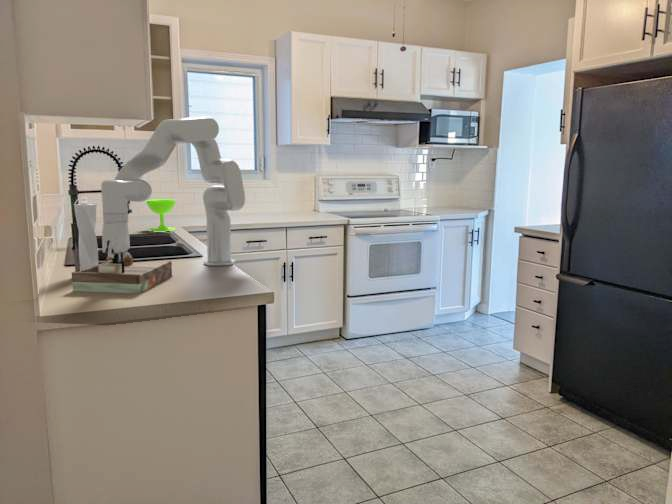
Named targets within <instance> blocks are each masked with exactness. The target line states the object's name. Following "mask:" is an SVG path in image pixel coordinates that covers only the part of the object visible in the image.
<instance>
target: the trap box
mask: <svg viewBox="0 0 672 504" xmlns="http://www.w3.org/2000/svg"><path fill="white" fill-rule="evenodd" d="M106 263H111V264H112V261H111V260H110V261H107V262H106V261H104V262H102V263H98V265H96V266H93V267H90V268H88V269H85V270H82V271H81V270H80V271H79V272H75V271H73V272H71V284H72V292H87V293H88V292H89V293H90V292H91V293H118V294H119V293H120V294H141V293H144V292H145V291H147V290H149V289H151V288H153V287H154V286H157V285H158V284H160V283H162V282H163V281H166V280H167V279H169V278H171V277H173V270H172V268H173V267H172V265H173V264H172V260H171V261H170V260H168V261H167V262H163V263H162V264H160V265H158V266H155V267H154V266H153V267H152V266H151V267H150V266H149V267H148V266H124V271H125V272H124V273H122V274H119V273H99V267H98V266H101V265H104V264H106Z"/></svg>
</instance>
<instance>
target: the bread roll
mask: <svg viewBox="0 0 672 504" xmlns="http://www.w3.org/2000/svg"><path fill="white" fill-rule="evenodd" d="M110 260H111V258H108V255H107V256H106V258H105V262H107V261H110ZM133 264H134V259H133V256H132V255H131V253H130V252H128V251H127V253H126V254H125V260H124V266H125V267H129V266H131V265H133Z"/></svg>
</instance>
